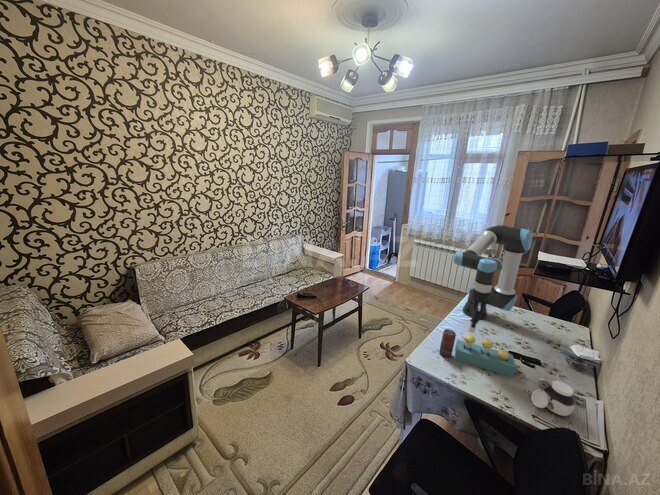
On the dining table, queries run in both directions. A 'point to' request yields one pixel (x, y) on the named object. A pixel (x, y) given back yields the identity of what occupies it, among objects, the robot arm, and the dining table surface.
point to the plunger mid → (486, 346)
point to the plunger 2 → (503, 355)
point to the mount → (484, 359)
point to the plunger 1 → (469, 341)
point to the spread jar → (555, 398)
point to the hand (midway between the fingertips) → (471, 331)
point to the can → (447, 343)
